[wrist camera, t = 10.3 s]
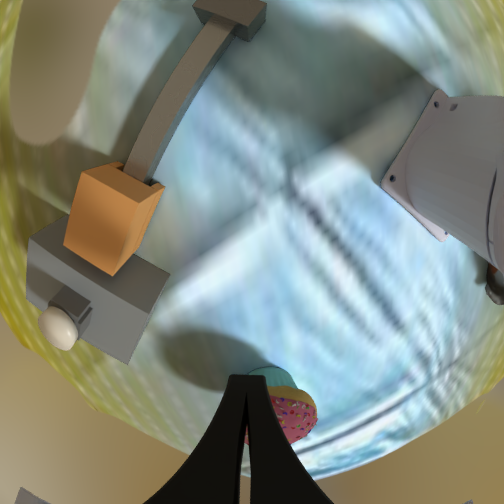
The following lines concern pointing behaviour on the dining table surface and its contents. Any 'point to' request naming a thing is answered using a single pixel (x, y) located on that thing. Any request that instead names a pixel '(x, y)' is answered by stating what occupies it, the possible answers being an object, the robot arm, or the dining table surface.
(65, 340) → the plunger
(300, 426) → the cupcake
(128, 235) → the carriage
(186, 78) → the rail
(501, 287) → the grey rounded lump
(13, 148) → the dining table surface
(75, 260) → the button box
